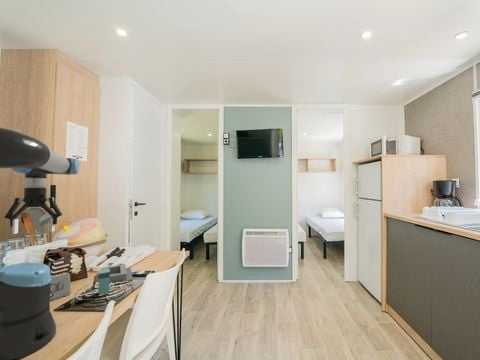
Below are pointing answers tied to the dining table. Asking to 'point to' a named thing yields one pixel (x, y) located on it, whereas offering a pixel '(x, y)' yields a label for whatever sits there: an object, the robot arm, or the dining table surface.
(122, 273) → the socket
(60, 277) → the electrical switch
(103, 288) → the plug
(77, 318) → the dining table surface
